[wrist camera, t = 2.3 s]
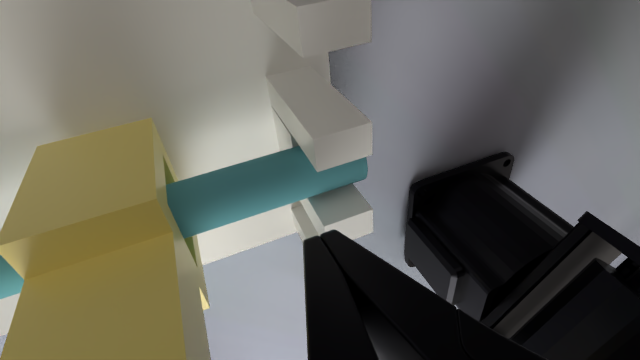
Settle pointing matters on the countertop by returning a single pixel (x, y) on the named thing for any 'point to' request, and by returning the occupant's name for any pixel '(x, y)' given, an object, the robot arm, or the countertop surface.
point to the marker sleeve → (103, 254)
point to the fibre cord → (236, 195)
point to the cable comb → (190, 95)
